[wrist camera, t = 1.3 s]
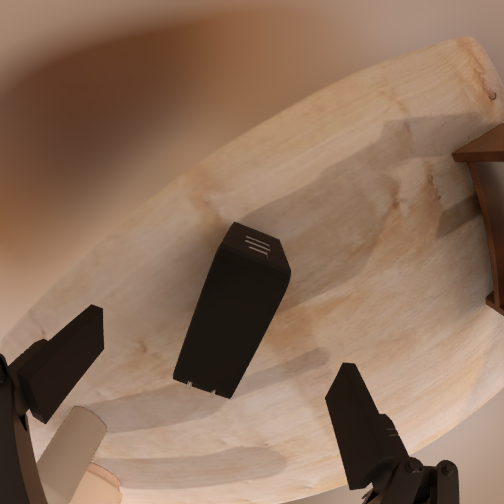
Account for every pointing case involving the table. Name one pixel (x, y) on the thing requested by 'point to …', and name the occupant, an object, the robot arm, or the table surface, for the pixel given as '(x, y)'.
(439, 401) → the table surface
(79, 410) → the bottle
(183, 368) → the electronic device
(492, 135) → the shelf
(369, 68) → the table surface
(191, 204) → the table surface
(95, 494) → the vase
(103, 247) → the table surface
